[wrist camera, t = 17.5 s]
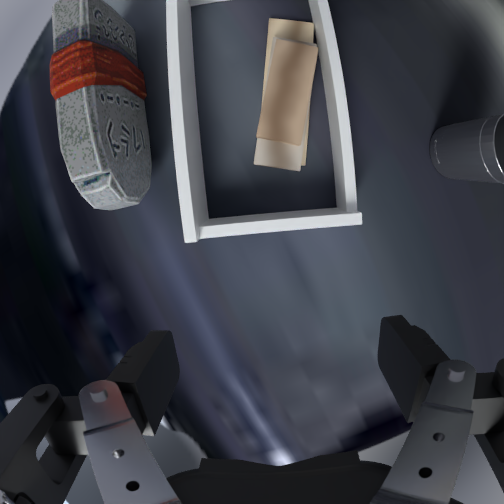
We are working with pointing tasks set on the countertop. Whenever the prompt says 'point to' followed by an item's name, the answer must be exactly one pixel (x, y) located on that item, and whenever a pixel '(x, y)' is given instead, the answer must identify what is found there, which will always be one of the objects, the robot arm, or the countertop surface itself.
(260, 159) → the middle offcut
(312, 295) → the countertop surface
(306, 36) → the bottom offcut
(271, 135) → the top offcut
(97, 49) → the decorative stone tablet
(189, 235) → the white open box
